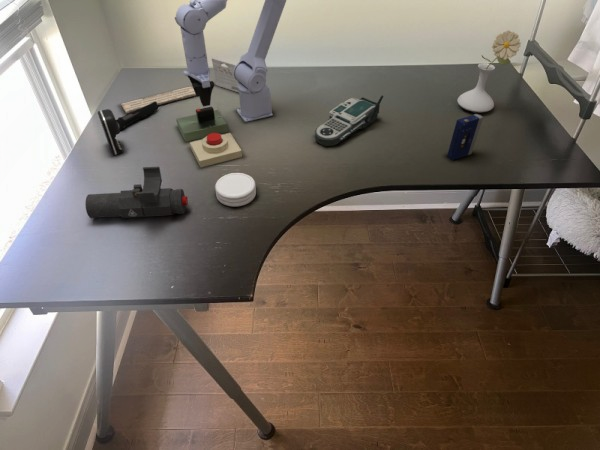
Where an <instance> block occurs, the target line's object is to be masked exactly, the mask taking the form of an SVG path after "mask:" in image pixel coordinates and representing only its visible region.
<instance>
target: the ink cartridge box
mask: <svg viewBox="0 0 600 450" xmlns="http://www.w3.org/2000/svg"><path fill="white" fill-rule="evenodd" d="M211 64H212V69H213V76H214V77H213V78H214V86H217V87H220V88H223V89H227V90H229V91H233V92H235V93H238V94H239V88H238V81H237V80H236V79H235V78H234V75H233V71H234V68H235V66H236V65H237V64H233V63H230V62H227V61H222V60H220V59H215V58H211ZM223 65H225V66H227V67H225V66H223Z"/></svg>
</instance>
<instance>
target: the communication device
mask: <svg viewBox="0 0 600 450" xmlns="http://www.w3.org/2000/svg"><path fill="white" fill-rule="evenodd" d="M383 99H384V95H381V96H380V97H379V99H378V100H377V102H376V101H374V100H371V99H368V98H366V97H364V96H363V97H361V98H359V99H358V98H356V97H351V98H348V99H347V100H345V101H344V102H341V103H339V104H338V105H337V106H335V107H334V108H332V109H331V110H330V111H329V115H328V116H329V118H328V119H327V120H326V121H325V122H323V123H322V124H320V125H319V126H318V127H317V128H315V130H314V139H315V141H316V142H317V143H319V145H320V146H324V147H333V146H336V145H337V144H339V143H340V142H342V141H343V140H345V139H347V138H348V137H349V136H350V135H352V134H353V133H354V132H356V131H357V130H364V129H365V128H366V127H368V126H369V125H370V124H371V123H373V122H374V121H376V120H377V119H378V115H379V114H380V107H381V103H382V100H383Z"/></svg>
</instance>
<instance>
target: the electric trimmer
mask: <svg viewBox="0 0 600 450" xmlns="http://www.w3.org/2000/svg"><path fill="white" fill-rule="evenodd" d="M158 106H159V105H157V102H153V103H151V104H149V105H146V106H144V107H142V108H140V109H138V110H136V111H133V112H130V113H127V114H125V115H123V116H120V117H119V116H118V118H117V119H116V122H117V124H118V127H119V130H120V131H123V130H124V129H125V127H127V126H129V125H131V124H133V123H135V122H136V121H138V120H140V119H145V118H147V117H149V116H150V115H151V114H153V113H154V112H155V111H157V110H158V108H159V107H158Z"/></svg>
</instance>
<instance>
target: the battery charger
mask: <svg viewBox="0 0 600 450" xmlns="http://www.w3.org/2000/svg"><path fill="white" fill-rule="evenodd" d="M97 115H98V118H99V121H100V124H101V127H102V129H103V131H104V132H103V133H104V135H105V139H106V141H107V144H108V147H109V149H110V152H111V154H112V155H113V156H116V155H119V154H122V153H123V152H124V148H123V145H122V144H121V141H120V140H118V139H116V137H117V135H120V133H121V130H119V127H118V124H117V122H116V120H117V119H116V117H115V114H114V112H113V111H112V110H111V109H109V108H107V109H103V110H102V109H100V110H98V111H97Z"/></svg>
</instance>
